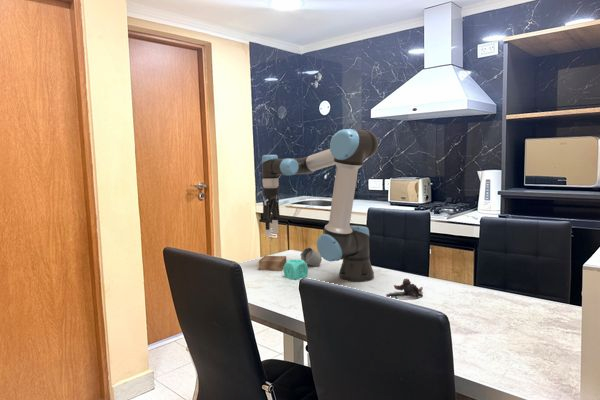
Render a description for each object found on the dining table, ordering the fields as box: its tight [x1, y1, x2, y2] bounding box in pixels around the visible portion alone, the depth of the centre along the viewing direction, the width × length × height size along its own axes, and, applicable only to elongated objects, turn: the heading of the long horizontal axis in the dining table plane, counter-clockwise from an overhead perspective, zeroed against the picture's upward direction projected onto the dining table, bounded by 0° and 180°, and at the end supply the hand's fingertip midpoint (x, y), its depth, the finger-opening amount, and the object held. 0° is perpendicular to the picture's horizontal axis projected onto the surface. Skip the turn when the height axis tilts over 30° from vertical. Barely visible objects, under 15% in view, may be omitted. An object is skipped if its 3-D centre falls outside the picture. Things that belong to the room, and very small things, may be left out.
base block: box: [258, 255, 287, 272], centre depth 207 cm, size 11×11×6 cm
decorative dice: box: [282, 258, 309, 281], centre depth 191 cm, size 8×8×8 cm
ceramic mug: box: [299, 246, 323, 267], centre depth 212 cm, size 11×8×8 cm
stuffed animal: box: [385, 278, 424, 301], centre depth 164 cm, size 12×10×12 cm
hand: (272, 234), depth 206 cm, fingers open, 7 cm apart
